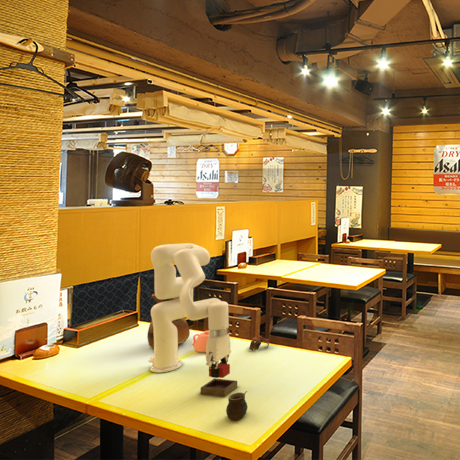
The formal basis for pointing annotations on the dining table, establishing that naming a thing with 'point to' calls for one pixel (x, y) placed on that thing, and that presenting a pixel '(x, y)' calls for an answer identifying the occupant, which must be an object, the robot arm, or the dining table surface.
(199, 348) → the sugar bowl
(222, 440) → the dining table surface
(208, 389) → the brown shallow rectangular box
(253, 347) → the pottery mug
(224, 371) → the red block
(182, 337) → the ceramic pitcher
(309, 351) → the dining table surface
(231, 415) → the mate gourd
